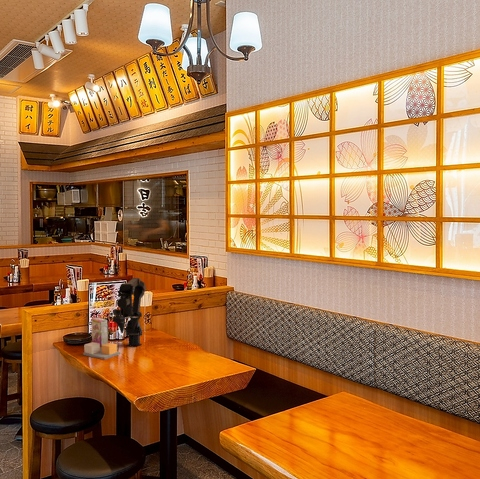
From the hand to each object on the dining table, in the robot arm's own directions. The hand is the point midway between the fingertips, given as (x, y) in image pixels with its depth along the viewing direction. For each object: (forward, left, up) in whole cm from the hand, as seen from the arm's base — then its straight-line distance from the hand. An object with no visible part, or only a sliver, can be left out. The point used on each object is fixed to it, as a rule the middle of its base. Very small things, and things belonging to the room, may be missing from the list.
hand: (127, 331), depth 291 cm
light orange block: (+10, -5, -11) cm, 15 cm away
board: (+12, -9, -12) cm, 19 cm away
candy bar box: (-1, -24, -12) cm, 27 cm away
